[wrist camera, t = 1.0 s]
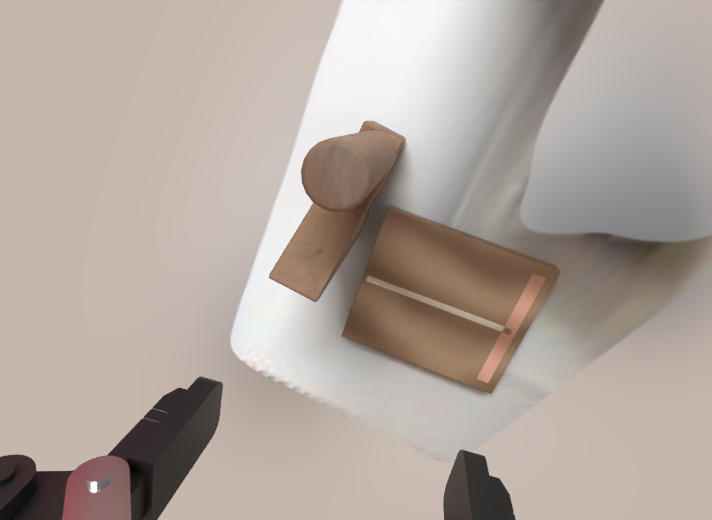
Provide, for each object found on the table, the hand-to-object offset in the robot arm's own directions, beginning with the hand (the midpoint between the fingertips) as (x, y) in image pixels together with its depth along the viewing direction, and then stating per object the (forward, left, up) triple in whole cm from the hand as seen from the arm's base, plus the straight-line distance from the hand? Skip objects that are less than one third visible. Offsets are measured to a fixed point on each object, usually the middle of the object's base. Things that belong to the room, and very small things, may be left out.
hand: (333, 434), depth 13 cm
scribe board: (+5, +7, -27) cm, 28 cm away
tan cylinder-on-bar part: (-3, -4, -27) cm, 28 cm away
